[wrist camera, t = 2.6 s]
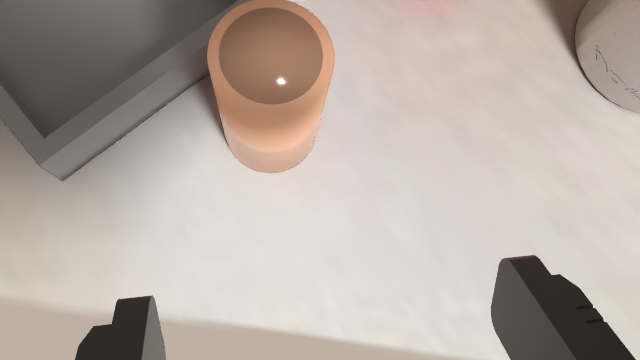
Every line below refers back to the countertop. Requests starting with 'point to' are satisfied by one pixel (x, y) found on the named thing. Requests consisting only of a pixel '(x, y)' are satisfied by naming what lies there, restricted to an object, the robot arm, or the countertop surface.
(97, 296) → the countertop surface
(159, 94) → the charcoal tray
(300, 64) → the terracotta cup
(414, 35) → the countertop surface
